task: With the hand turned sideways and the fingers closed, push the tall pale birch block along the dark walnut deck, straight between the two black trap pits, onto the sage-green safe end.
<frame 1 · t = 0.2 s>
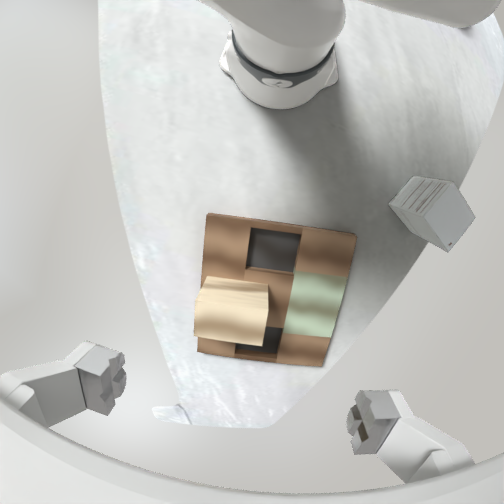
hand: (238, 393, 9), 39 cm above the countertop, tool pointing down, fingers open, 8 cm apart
birch block: (235, 296, 48), point 2 cm above the countertop, touching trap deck
supplement box: (411, 203, 44), on the countertop
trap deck: (271, 296, 50), on the countertop
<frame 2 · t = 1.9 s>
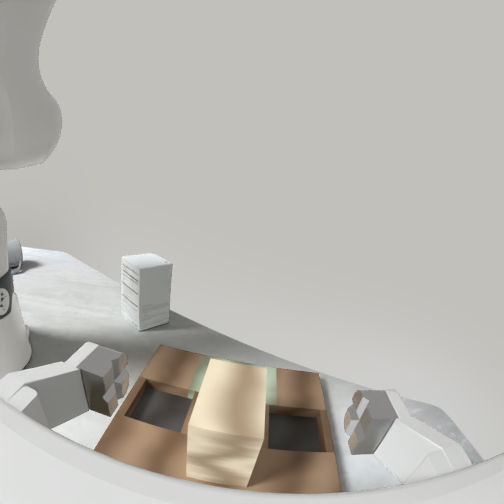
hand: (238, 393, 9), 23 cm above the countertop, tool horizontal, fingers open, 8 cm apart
ceramic mug: (11, 269, 59), on the countertop
birch block: (222, 448, 26), point 2 cm above the countertop, touching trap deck
supplement box: (144, 320, 54), on the countertop
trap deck: (227, 423, 33), on the countertop
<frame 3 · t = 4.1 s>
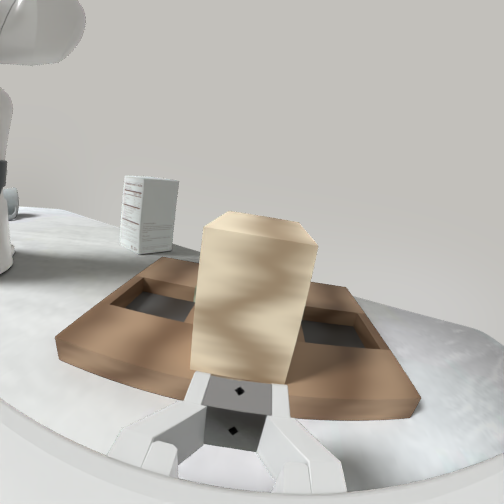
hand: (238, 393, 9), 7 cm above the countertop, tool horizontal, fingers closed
ceramic mug: (5, 218, 54), on the countertop
birch block: (243, 339, 22), point 2 cm above the countertop, touching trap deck
supplement box: (144, 249, 50), on the countertop
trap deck: (245, 326, 28), on the countertop
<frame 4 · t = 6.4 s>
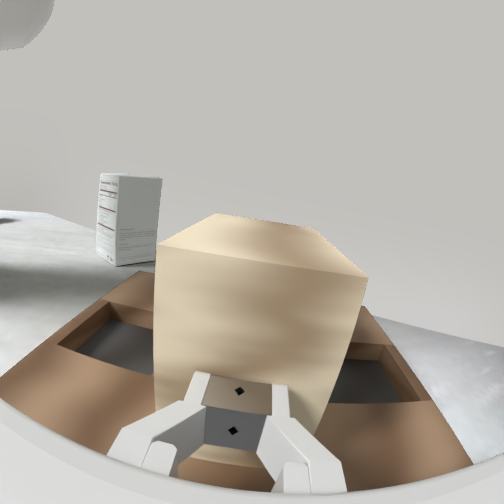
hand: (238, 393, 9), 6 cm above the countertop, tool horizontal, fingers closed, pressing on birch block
birch block: (237, 394, 15), point 2 cm above the countertop, touching gripper, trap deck
supplement box: (124, 258, 42), on the countertop
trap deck: (240, 371, 20), on the countertop
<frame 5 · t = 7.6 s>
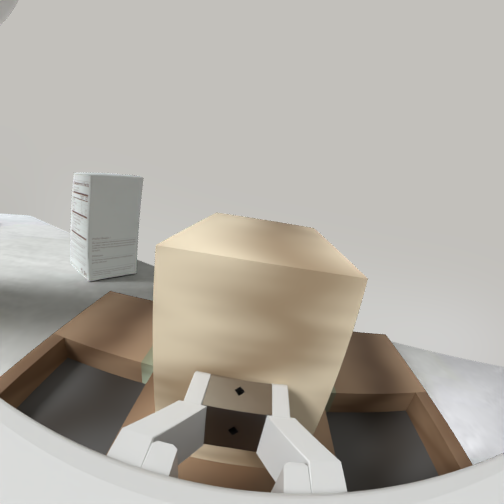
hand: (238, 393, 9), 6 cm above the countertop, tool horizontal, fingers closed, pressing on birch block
birch block: (237, 394, 15), point 2 cm above the countertop, touching gripper
supplement box: (101, 271, 35), on the countertop
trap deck: (229, 440, 13), on the countertop
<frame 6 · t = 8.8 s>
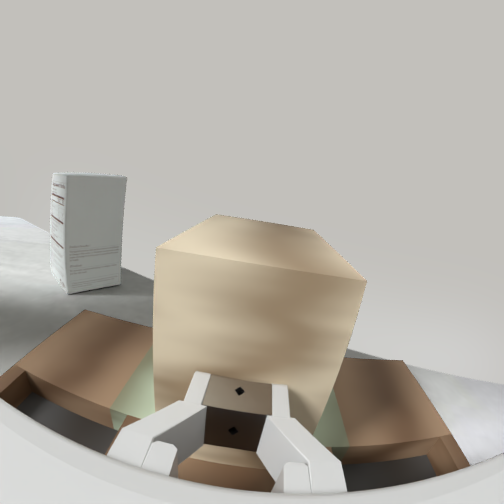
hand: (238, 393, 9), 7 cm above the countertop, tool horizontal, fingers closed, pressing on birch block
birch block: (237, 395, 15), point 2 cm above the countertop, touching gripper, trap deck
supplement box: (83, 281, 31), on the countertop
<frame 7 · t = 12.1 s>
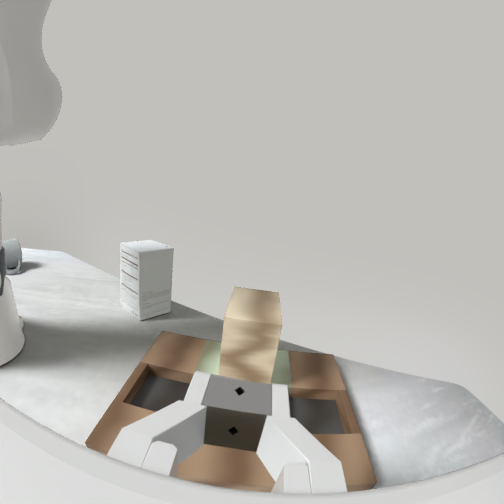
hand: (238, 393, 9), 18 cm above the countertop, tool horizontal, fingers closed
ceramic mug: (10, 270, 55), on the countertop
birch block: (246, 365, 36), point 2 cm above the countertop, touching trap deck
supplement box: (145, 310, 52), on the countertop
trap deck: (238, 409, 30), on the countertop
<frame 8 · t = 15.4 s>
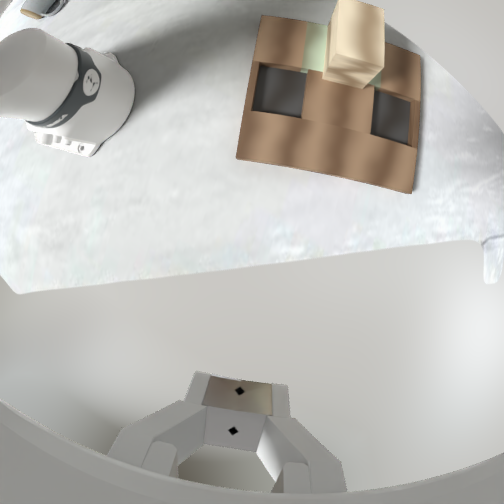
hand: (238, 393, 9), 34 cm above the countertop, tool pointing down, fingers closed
ceramic mug: (51, 6, 33), on the countertop
birch block: (344, 56, 34), point 2 cm above the countertop, touching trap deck
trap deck: (337, 98, 37), on the countertop
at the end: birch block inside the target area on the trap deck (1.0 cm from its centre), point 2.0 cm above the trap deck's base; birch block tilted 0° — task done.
